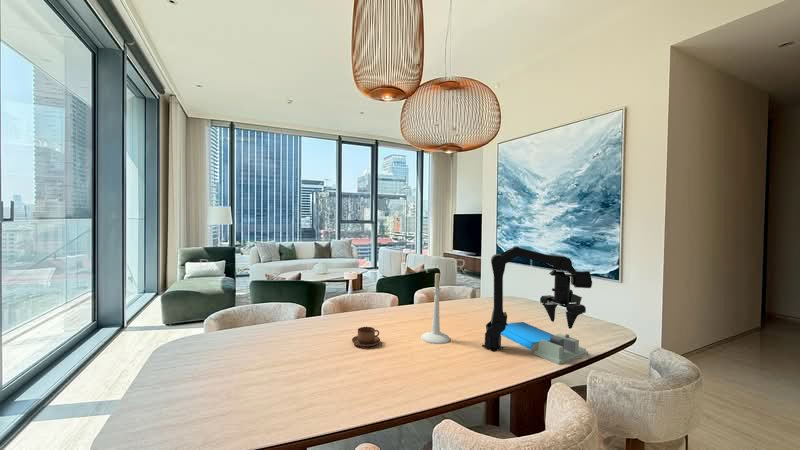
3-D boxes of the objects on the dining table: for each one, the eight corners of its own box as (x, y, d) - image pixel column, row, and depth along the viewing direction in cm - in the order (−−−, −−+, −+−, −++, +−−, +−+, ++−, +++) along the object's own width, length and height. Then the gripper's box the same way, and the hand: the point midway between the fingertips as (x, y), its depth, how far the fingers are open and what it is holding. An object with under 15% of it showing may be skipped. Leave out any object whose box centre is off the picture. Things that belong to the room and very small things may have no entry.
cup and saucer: (366, 336, 153) (366, 323, 153) (385, 343, 146) (386, 329, 145) (345, 343, 144) (346, 329, 144) (365, 351, 136) (366, 336, 136)
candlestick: (440, 346, 144) (442, 276, 143) (415, 339, 151) (417, 272, 151) (454, 338, 154) (456, 272, 153) (431, 331, 162) (432, 269, 161)
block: (558, 355, 134) (559, 340, 134) (549, 351, 138) (550, 337, 138) (563, 353, 136) (563, 338, 136) (554, 350, 139) (554, 335, 139)
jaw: (574, 353, 136) (575, 338, 136) (554, 346, 143) (555, 332, 143) (578, 352, 137) (579, 337, 137) (558, 345, 145) (559, 331, 145)
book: (522, 321, 171) (562, 337, 147) (522, 330, 171) (562, 347, 147) (494, 324, 164) (532, 341, 141) (494, 333, 164) (531, 352, 141)
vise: (558, 364, 129) (559, 349, 128) (533, 354, 138) (534, 340, 138) (588, 354, 139) (588, 340, 139) (562, 345, 148) (563, 332, 148)
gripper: (597, 290, 131) (596, 330, 131) (560, 281, 149) (559, 317, 149) (574, 292, 127) (573, 333, 128) (539, 282, 145) (538, 319, 145)
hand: (561, 324), depth 138 cm, fingers open, 9 cm apart
